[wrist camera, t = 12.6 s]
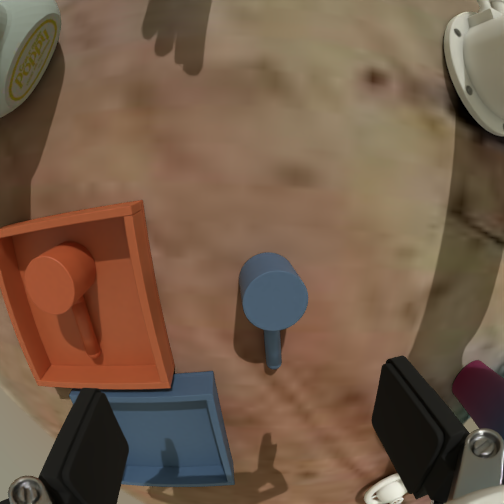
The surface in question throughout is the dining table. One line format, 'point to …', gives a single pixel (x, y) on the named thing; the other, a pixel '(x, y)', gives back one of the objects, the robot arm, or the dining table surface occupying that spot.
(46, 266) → the orange toy mallet
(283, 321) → the blue handled cylinder
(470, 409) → the cup
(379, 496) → the ring around a ball
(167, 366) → the terracotta bin
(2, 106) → the air freshener
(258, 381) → the dining table surface
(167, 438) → the slate bin
